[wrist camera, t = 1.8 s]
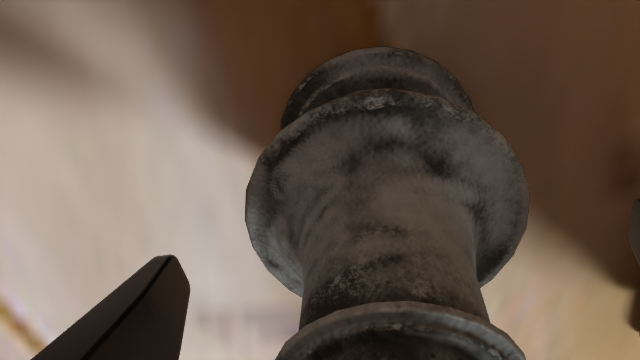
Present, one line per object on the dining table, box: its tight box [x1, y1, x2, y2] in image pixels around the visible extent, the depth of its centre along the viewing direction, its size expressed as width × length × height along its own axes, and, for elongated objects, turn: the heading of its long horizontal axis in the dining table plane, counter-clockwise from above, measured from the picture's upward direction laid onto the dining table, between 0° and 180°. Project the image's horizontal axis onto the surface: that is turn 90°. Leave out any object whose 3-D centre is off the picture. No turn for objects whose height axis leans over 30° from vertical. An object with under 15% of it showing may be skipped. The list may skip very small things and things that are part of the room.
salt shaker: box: [245, 46, 530, 360], centre depth 8 cm, size 6×6×12 cm
